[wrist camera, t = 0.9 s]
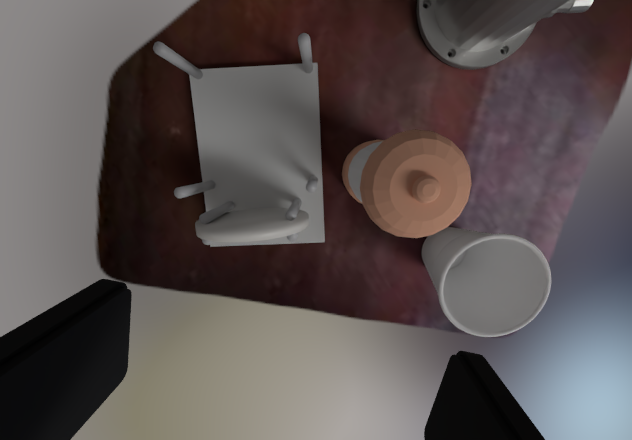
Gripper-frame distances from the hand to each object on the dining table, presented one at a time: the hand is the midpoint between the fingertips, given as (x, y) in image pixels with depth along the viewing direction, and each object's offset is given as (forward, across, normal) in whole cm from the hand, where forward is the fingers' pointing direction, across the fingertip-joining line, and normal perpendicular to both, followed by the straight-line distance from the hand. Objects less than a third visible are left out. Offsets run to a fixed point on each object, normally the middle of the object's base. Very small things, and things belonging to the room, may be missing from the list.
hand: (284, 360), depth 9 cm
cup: (+29, -17, +3) cm, 34 cm away
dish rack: (+28, +7, -3) cm, 30 cm away
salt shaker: (+29, -6, -4) cm, 30 cm away
